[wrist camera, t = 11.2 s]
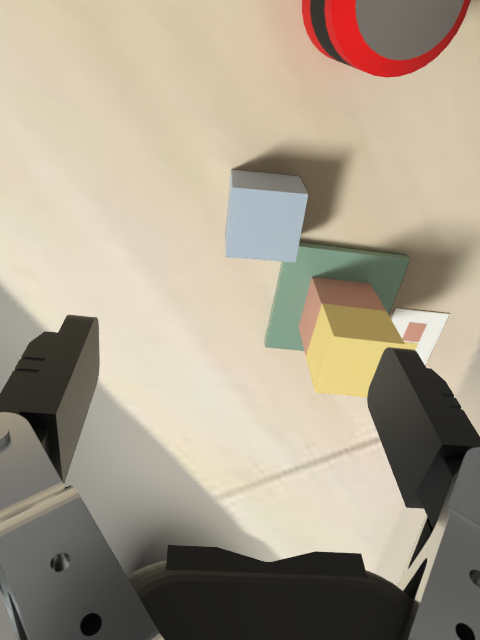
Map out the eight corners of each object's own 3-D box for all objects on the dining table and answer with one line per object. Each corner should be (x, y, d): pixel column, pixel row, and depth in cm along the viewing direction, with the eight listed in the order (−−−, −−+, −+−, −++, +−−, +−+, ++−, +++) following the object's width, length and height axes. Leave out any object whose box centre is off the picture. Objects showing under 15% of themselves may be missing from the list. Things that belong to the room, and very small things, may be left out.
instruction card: (395, 307, 48) (396, 308, 48) (448, 313, 49) (449, 314, 49) (372, 366, 53) (373, 367, 53) (421, 370, 53) (422, 372, 53)
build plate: (286, 240, 44) (288, 245, 43) (406, 255, 45) (409, 260, 44) (264, 341, 50) (265, 347, 49) (369, 351, 51) (371, 357, 51)
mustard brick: (321, 303, 41) (333, 336, 36) (386, 311, 41) (405, 344, 37) (305, 356, 44) (315, 392, 40) (365, 362, 45) (380, 398, 40)
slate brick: (231, 169, 40) (232, 187, 36) (298, 175, 40) (308, 194, 36) (225, 233, 43) (225, 257, 39) (288, 238, 44) (295, 262, 40)
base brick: (311, 276, 45) (321, 303, 41) (370, 283, 45) (386, 310, 41) (298, 327, 48) (306, 356, 44) (353, 332, 49) (366, 362, 45)
